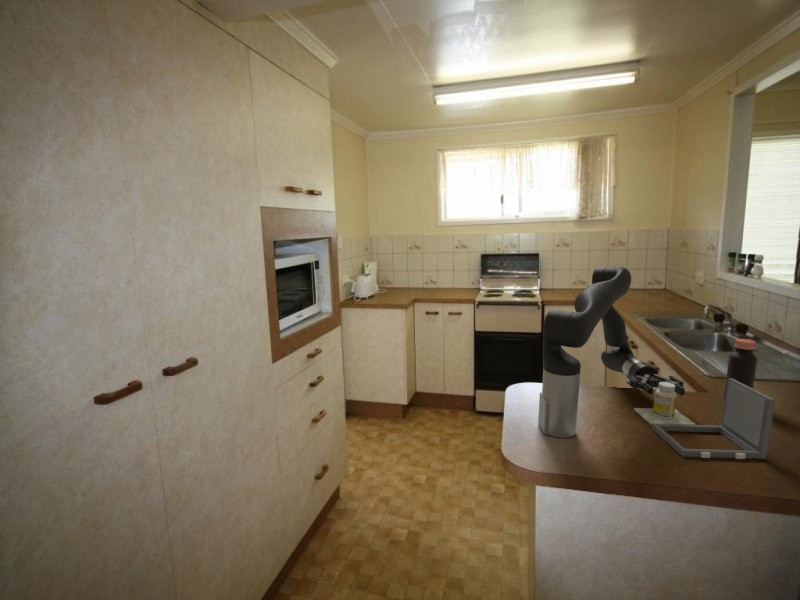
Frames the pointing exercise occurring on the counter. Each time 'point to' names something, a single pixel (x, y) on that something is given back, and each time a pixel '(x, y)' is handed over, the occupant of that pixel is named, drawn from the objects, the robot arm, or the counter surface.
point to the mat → (652, 419)
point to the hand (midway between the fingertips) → (667, 392)
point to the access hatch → (732, 425)
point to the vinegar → (742, 363)
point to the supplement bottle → (665, 401)
